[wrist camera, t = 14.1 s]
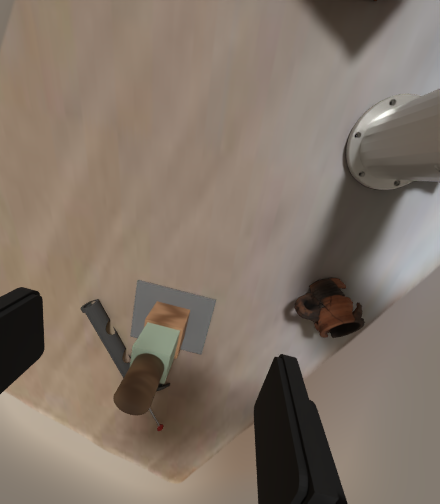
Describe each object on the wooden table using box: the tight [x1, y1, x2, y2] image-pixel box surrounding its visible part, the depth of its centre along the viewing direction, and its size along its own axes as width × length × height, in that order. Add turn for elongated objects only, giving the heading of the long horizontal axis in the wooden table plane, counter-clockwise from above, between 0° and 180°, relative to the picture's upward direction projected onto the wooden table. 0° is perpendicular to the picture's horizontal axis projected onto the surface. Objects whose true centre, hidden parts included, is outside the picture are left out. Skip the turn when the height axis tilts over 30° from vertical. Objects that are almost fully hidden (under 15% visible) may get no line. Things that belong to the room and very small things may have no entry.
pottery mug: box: [295, 278, 365, 338], centre depth 41 cm, size 12×9×8 cm
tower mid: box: [130, 322, 180, 384], centre depth 39 cm, size 6×6×6 cm
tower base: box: [144, 301, 190, 359], centre depth 44 cm, size 7×7×6 cm
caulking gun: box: [81, 299, 170, 431], centre depth 52 cm, size 4×37×10 cm
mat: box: [131, 280, 216, 354], centre depth 47 cm, size 16×14×1 cm
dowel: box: [114, 353, 164, 415], centre depth 33 cm, size 5×5×6 cm
